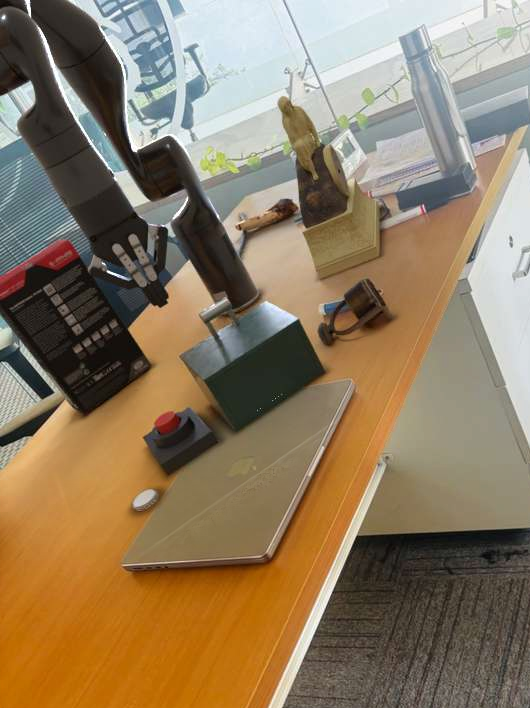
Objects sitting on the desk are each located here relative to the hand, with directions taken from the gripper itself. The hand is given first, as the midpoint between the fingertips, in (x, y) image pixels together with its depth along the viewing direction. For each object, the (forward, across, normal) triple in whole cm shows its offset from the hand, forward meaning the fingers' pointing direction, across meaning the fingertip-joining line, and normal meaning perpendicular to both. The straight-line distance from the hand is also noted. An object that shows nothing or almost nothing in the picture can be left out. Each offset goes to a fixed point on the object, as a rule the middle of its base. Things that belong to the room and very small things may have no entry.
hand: (162, 304), depth 101 cm
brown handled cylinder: (+19, -26, +2) cm, 32 cm away
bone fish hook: (+20, -42, -79) cm, 92 cm away
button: (+15, +9, +4) cm, 18 cm away
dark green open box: (+19, -6, +4) cm, 20 cm away
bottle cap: (+18, +18, +13) cm, 29 cm away
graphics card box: (+19, +14, -34) cm, 42 cm away
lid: (+10, -7, +3) cm, 12 cm away
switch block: (+19, +10, +4) cm, 21 cm away
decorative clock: (+20, -44, -34) cm, 59 cm away
